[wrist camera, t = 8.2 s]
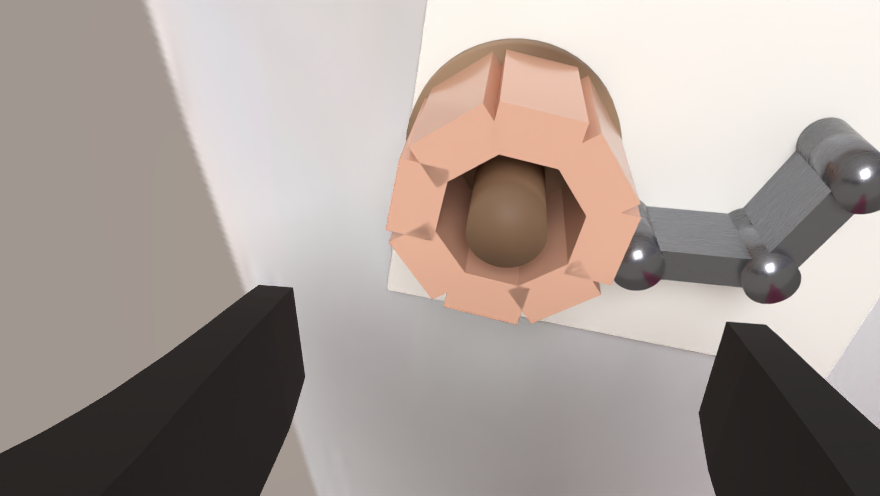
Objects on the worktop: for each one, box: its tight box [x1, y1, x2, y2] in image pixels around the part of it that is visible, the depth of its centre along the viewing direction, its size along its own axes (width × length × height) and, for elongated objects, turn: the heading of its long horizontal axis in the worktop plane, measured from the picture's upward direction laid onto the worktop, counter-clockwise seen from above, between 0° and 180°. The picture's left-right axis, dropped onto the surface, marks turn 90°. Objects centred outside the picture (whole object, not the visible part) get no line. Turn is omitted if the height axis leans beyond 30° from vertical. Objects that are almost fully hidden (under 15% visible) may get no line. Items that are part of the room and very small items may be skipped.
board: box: [387, 0, 880, 378], centre depth 18 cm, size 15×16×1 cm
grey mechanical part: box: [614, 117, 880, 304], centre depth 17 cm, size 6×5×3 cm
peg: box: [406, 38, 622, 268], centre depth 17 cm, size 6×6×5 cm
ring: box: [386, 49, 641, 325], centre depth 17 cm, size 6×6×4 cm
